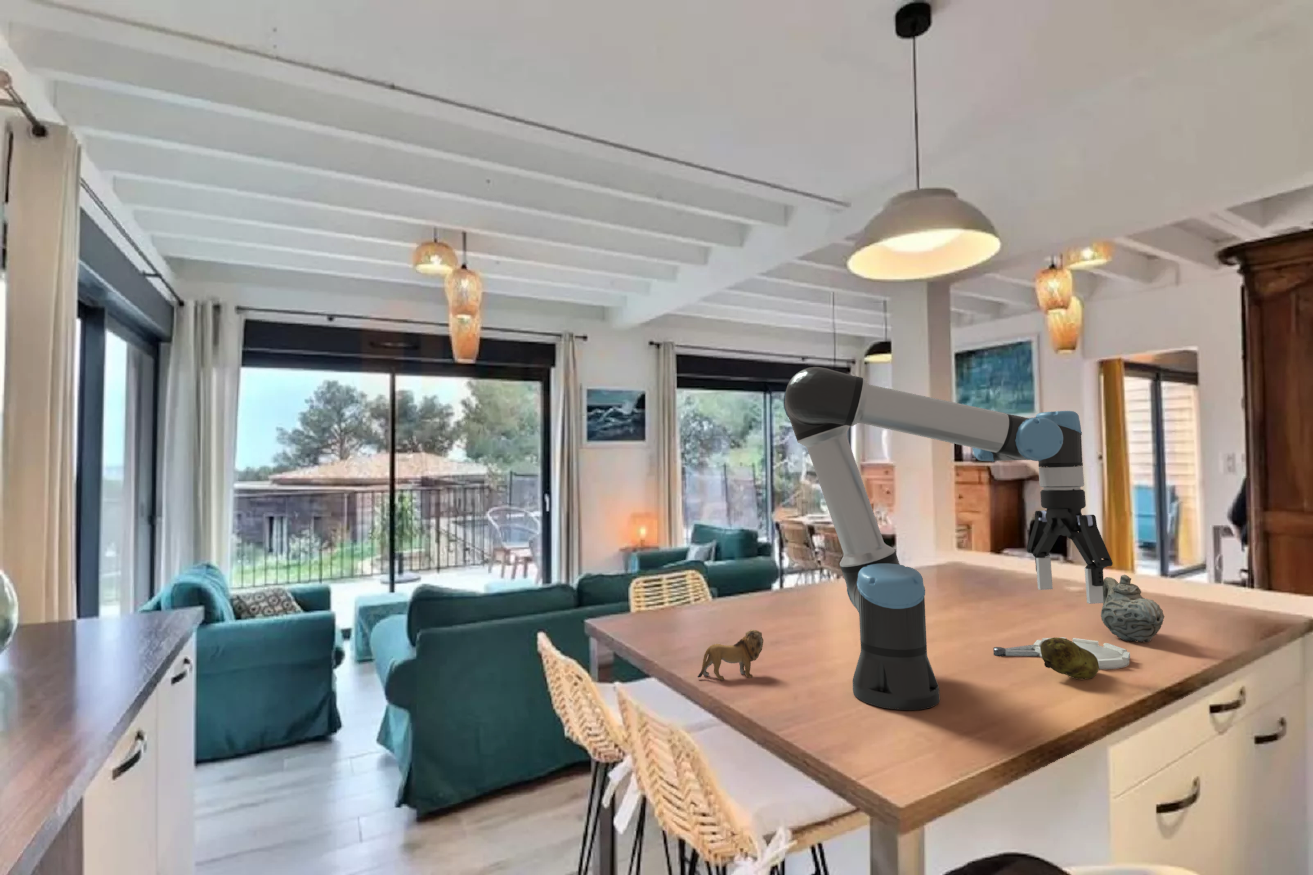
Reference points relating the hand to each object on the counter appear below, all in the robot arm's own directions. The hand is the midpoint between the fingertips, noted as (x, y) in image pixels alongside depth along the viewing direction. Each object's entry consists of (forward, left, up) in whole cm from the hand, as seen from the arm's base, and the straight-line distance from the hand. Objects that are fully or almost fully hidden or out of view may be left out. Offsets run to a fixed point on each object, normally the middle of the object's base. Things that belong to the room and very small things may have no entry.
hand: (1068, 596), depth 125 cm
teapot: (+32, +23, -16) cm, 42 cm away
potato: (0, 0, -16) cm, 16 cm away
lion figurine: (-66, +12, -16) cm, 69 cm away
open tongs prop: (+2, +16, -16) cm, 23 cm away
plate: (+11, +12, -16) cm, 23 cm away
